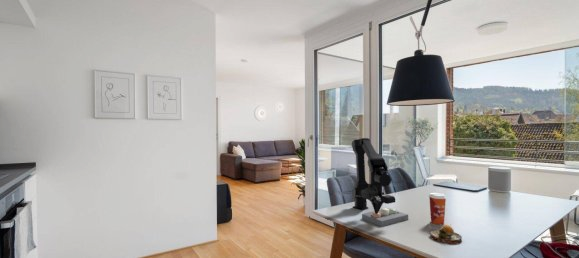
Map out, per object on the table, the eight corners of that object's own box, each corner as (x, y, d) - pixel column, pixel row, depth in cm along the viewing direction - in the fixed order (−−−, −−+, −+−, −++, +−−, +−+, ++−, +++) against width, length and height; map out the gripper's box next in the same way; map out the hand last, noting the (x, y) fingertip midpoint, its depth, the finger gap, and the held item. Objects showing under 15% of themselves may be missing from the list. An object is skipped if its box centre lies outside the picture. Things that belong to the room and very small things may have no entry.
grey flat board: (362, 218, 145) (361, 213, 145) (387, 212, 154) (387, 208, 154) (381, 226, 134) (381, 221, 134) (408, 219, 143) (408, 214, 143)
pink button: (370, 219, 142) (370, 212, 142) (376, 218, 144) (376, 211, 144) (376, 222, 138) (376, 214, 138) (382, 220, 140) (382, 213, 140)
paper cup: (437, 226, 133) (436, 196, 133) (425, 221, 141) (425, 192, 141) (450, 224, 135) (450, 195, 135) (438, 219, 143) (438, 191, 143)
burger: (452, 233, 125) (452, 216, 125) (468, 244, 113) (468, 226, 113) (424, 233, 125) (424, 216, 125) (437, 244, 114) (437, 226, 114)
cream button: (379, 215, 145) (379, 208, 145) (384, 214, 147) (384, 207, 147) (385, 217, 141) (385, 210, 141) (390, 216, 143) (390, 209, 143)
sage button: (387, 215, 148) (387, 209, 148) (392, 214, 150) (392, 207, 150) (393, 217, 144) (393, 211, 144) (398, 216, 146) (398, 209, 146)
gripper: (351, 180, 145) (351, 211, 145) (379, 187, 129) (379, 221, 129) (367, 178, 151) (367, 207, 151) (396, 184, 134) (396, 217, 135)
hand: (376, 213), depth 141 cm, fingers closed, pressing on pink button
